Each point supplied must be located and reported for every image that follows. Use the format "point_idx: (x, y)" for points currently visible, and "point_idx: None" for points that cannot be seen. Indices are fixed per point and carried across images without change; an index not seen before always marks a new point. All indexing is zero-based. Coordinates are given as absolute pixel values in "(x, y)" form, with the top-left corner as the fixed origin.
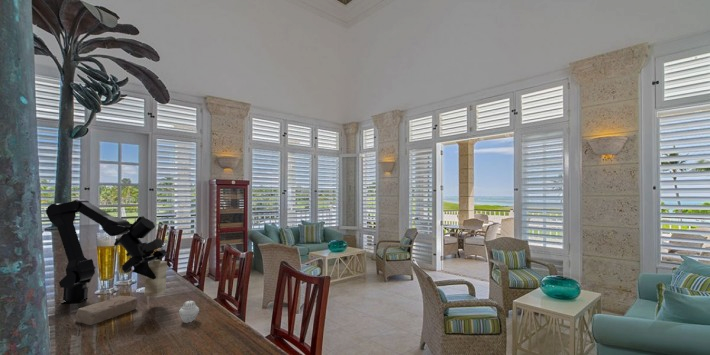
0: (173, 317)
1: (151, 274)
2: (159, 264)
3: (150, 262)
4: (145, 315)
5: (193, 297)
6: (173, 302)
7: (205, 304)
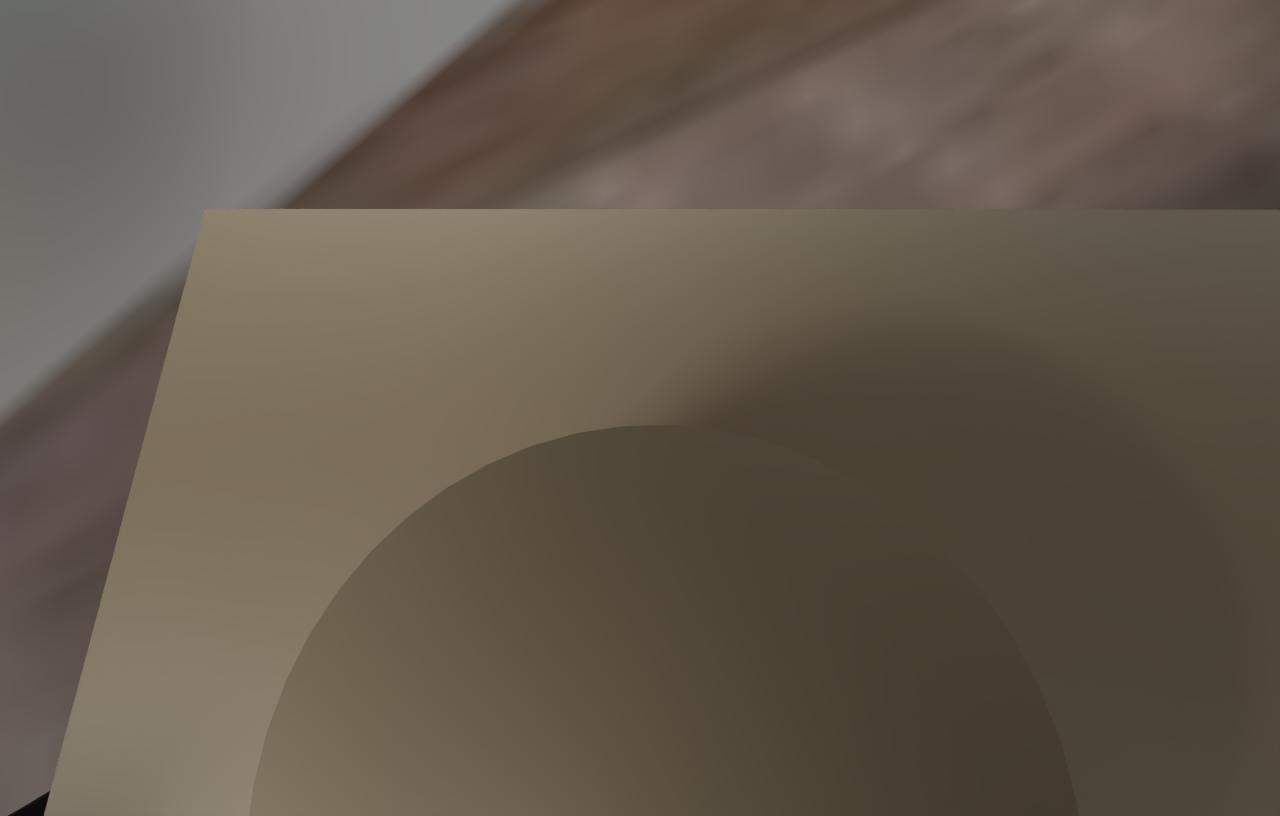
0: (1179, 159)
1: None
2: (1208, 226)
3: None
4: None
5: None
6: None
7: (604, 40)
